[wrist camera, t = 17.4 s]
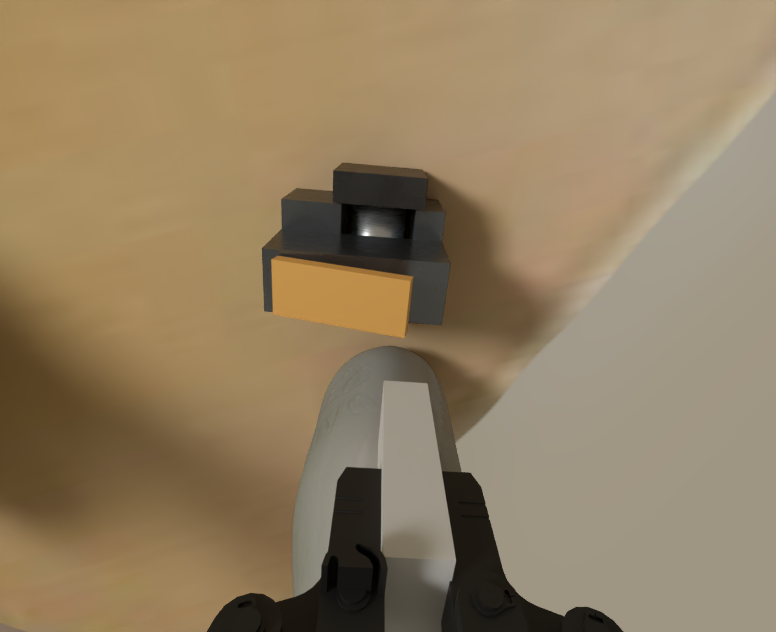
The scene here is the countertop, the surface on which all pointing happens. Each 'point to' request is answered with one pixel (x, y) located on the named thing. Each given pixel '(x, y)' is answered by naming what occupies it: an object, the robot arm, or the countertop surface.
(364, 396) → the grey vase
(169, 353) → the countertop surface
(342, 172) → the lynch pin
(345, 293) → the plate
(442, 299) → the block
